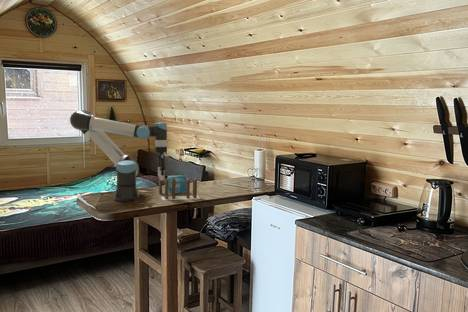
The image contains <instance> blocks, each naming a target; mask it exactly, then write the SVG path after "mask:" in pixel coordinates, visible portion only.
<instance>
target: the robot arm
mask: <svg viewBox="0 0 468 312" xmlns="http://www.w3.org/2000/svg"><path fill="white" fill-rule="evenodd" d="M69 124H70V125H71V126H72V127H73V128H74V129H75V130H77V131H80V132H81V133H82V134H83V135H84V136H88V137H89V138H90V139H91V140H92V141H93V142H94V143H95V144H96V145H97V146H98V148H99V149H100V150H101V151H102V152H103V153H104V154H105V155H106V156H107V157H108V158H109V159H110V160H111V162H112V163H113V164H114V168H115V170H116V188H115V191H114V194H113V200H114V201H117V202H134V201H135V200H138V199H139V198H140V194H139V192H138V189H137V176H138V175H139V172H140V166H139V163H138V162H137V161H136V160H134V159H132V157H131V156H130V155H129V154H125V153H124V152H123V151H122V150H121V149H120V148H119V147H118V145H117V144H116V143H115V142H113V140H112V139H111V138H110V137H109V136H108V135H107V133H111V134H117V135H121V136H122V135H123V136H128V137H134V138H137V139H138V138H139V139H142V140H146V139H148V138H154V142H155V149H154V150H155V153H156V154H158V155H157V177H158V178H159V176H160V180H162V181H165V179H166V177H165V173H166V172H165V170H166V166H165V165H166V163H165V162H166V161H165V154H164V153H167V152H168V146H167V145H168V125H167V122H164V121H163V122H162V121H161V122H155V123H154V125H149V124H148V125H146V124H133V123H127V122H121V121H118V120H117V121H116V120H112V119H111V120H110V119H106V118H102V117H101V118H100V117H95V115H94V114H93V113H92V112H91V111H88V110H86V109H85V110H84V109H83V110H76V111H74V112H73V113H71V115H70V117H69Z"/></svg>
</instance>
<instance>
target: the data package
mask: <svg viewBox="0 0 468 312" xmlns="http://www.w3.org/2000/svg"><path fill="white" fill-rule="evenodd" d="M172 178H175V180H176V185H175V194H178V193H181V194H182V193H186V178H187V176H186V175H185V176H184V175H183V174H182V175H181V174H180V175H179V174H178V175H176V174H175V175H168V176H167V178H166V179H168V194H172Z"/></svg>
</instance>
